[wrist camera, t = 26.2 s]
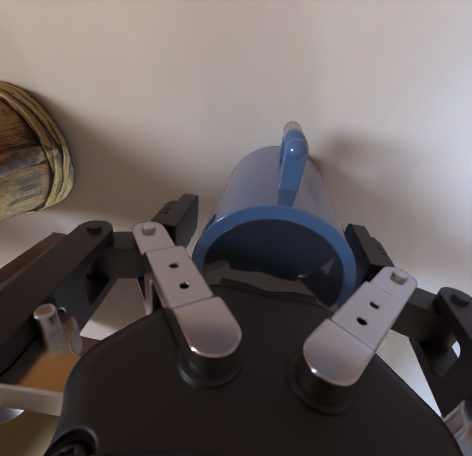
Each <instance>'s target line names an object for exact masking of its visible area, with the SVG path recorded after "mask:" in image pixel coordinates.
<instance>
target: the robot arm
mask: <svg viewBox="0 0 472 456" xmlns="http://www.w3.org/2000/svg"><path fill="white" fill-rule="evenodd" d="M198 204H199V197H198V196H196V195H190V194H184V195H183V196H182V197H181V198H180V199H179V201H175V200H173V201H171V202H169V203H166V204H165V206H164V207H163V208H162V209H161V210H160V211H159V212H158V213H157V214H156V216H155V217H154V218H153V219H152V220H151V221H150V222H142V223H138V224H136V225H135V226H134V227H133V228H132V231H131V232H113V227H112V225H111V224H110V223H109V222H106V221H99V220H96V221H89V222H85V223H83V224H81V225H79V226H78V227H77V228H75V229H74V230H73V231H72V232H71V233H69V234H68V235H67V236H66V237H64V238H63V239H62V240H61V241H60V242H58V243H57V244H56V245H55V246H54V247H52V248H51V249H50V250H49V251H48V252H46V253H45V254H44V255H43V256H41V257H40V258H39V259H38V260H37V261H35V262H34V263H33V264H32V265H31V266H29V267H28V268H27V269H26V270H24V271H23V272H22V273H21V274H20V275H18V276H17V277H16V278H15V279H14V280H12V281H11V282H10V283H9V284H8V285H6V286H5V287H4V288H3V289H1V290H0V424H3V423H6V422H8V421H10V420H12V419H14V418H15V417H17V416H18V415H20V414H21V413H22V412H23V411H24V410H25V411H32V412H38V413H44V414H51V415H57V416H60V418H59V422H58V425H57V428H56V430H55V433H54V435H53V438H52V440H51V443H50V445H49V447H48V448H47V450H46V452H45V453H44V455H43V456H472V297H470V296H469V295H467V294H466V293H464V292H462V291H459V290H457V289H454V288H449V287H443V288H441V289H440V290H439V292H438V293H437V295H436V294H433V293H430V292H428V291H425V290H422V289H420V288H417V281H416V280H415V279H414V278H413V277H412V276H411V275H410V274H408V273H407V272H405V271H403V270H401V269H398V268H395V266H394V264H393V263H392V261H391V260H390V258H389V256H387V253H386V252H385V251H384V248H383V247H382V245H381V243H379V242H378V241H377V240H376V239H375V238H373V237H371V236H370V235H369V233H368V231H367V230H366V228H365V227H364V226H359V225H354V224H348V226H347V227H346V230H345V235H346V237H347V240H348V242H349V245H350V247H351V249H352V252H353V255H354V258H355V261H356V267H357V280H356V285H355V289H354V292H353V294H352V296H351V297H350V298H349V299H348V300H347V301H346V302H345V303H344V304H343V305H342V306H341V307H340V308H339V309H338V310H337V311H336V312H335V313H333V312H332V311H330V310H329V309H327V308H325V307H323V306H321V305H319V304H317V299H316V296H311V295H306V294H301V293H296V292H270V291H265V290H263V289H260V288H258V287H255V286H253V285H250V284H247V283H245V282H240V281H235V280H230V279H225V278H221V280H220V283H219V284H213V285H208V284H207V283H206V281H205V280H204V278H203V276H202V275H201V273H200V272H199V270H198V269H197V267H196V265H195V264H194V262H193V261H192V259H191V257H190V256H189V254H188V253H187V251H186V247H187V246H188V244H189V242H190V240H191V238H192V237H193V235H194V233H195V230H196V227H197V219H198ZM118 278H135V279H136V283H137V286H138V289H139V292H140V295H141V298H142V301H143V304H144V307H145V311H146V316H145V317H143V318H141V319H139V320H137V321H136V322H134V323H132V324H130V325H128V326H127V327H125V328H123V329H121V330H119V331H117V332H116V333H114V334H112V335H110V336H108V337H106V338H105V339H103V340H101V341H100V342H98V343H96V344H95V345H94V346H92V347H91V348H90V349H89V350H88V351H87V352H86V353H84V354H83V356H80V353H81V350H82V341H81V337H80V332H81V331H82V329H83V328H84V326H85V325H86V324H87V322H88V321H89V319H90V318H91V316H92V315H93V314H94V312H95V311H96V309H97V308H98V306H99V305H100V304H101V302H102V301H103V299H104V298H105V296H106V295H107V294H108V292H109V291H110V289H111V288H112V286H113V285H114V284H115V282H116V281H117V279H118ZM390 329H391V330H393V331H396V332H398V333H400V334H403V335H405V336H407V337H409V341H410V343H411V345H412V348H413V350H414V352H415V355H416V357H417V359H418V362H419V364H420V366H421V369H422V371H423V373H424V375H425V378H426V380H427V382H428V385H429V387H430V389H431V392H432V394H433V396H434V399H435V401H436V403H437V405H438V408H439V410H440V412H441V415H442V417H443V420H442V419H441V418H440V417H439V416H438V414H437V413H436V412H435V411H434V410H433V409H432V408H431V407H430V406H429V405H428V404H427V403H426V402H425V401H424V400H423V399H422V398H421V397H420V396H419V395H418V394H417V393H416V392H415V391H414V390H413V389H412V388H411V387H410V386H409V385H408V384H407V383H406V382H405V381H404V380H403V379H402V378H400V377H399V376H398V375H397V374H396V373H395V372H394V371H393V370H392V369H391V368H390V367H389V366H388V365H387V364H386V363H385V362H384V361H383V360H382V359H381V358H380V357H379V356H378V355H377V354H376V353H375V352H376V351H377V349H378V348H379V346H380V344H381V343H382V341H383V340H384V338H385V337H386V335H387V333H388V332H389V330H390ZM456 341H458V343H459V345H460V356H459V358H458V357H457V355H456V353H455V352H454V350H453V348H452V346H453V344H454V343H455V342H456Z"/></svg>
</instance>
